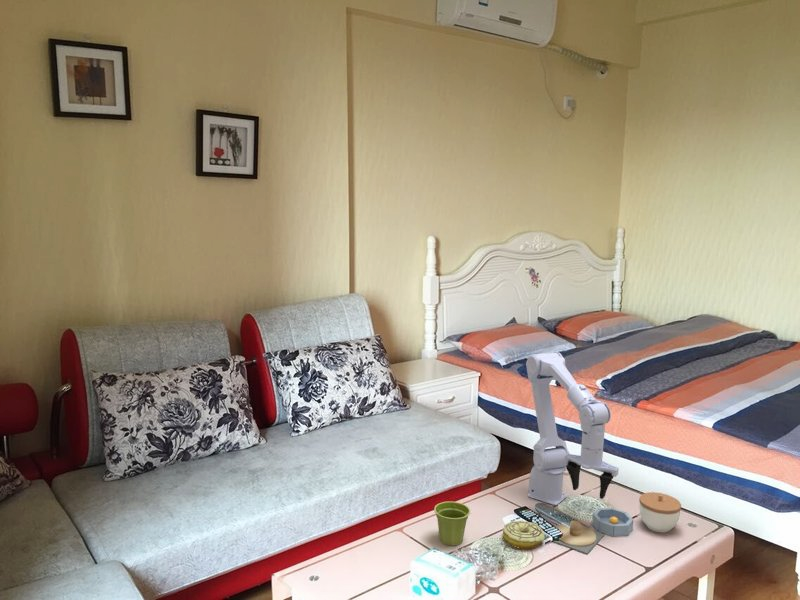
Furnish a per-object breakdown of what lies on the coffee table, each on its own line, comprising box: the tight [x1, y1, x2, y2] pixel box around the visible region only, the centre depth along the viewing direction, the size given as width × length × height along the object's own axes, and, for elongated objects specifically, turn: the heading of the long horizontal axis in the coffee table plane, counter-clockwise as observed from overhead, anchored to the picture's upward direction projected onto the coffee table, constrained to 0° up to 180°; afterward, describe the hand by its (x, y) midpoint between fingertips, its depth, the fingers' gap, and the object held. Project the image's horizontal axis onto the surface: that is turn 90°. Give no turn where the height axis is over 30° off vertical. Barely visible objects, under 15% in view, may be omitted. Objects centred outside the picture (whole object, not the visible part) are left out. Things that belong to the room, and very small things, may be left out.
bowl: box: [591, 507, 634, 537], centre depth 180 cm, size 10×10×3 cm
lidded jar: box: [638, 491, 682, 534], centre depth 180 cm, size 11×11×9 cm
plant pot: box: [433, 501, 471, 546], centre depth 172 cm, size 9×9×9 cm
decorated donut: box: [502, 520, 546, 550], centre depth 173 cm, size 10×11×4 cm
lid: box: [555, 520, 596, 547], centre depth 175 cm, size 11×11×4 cm
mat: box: [553, 524, 605, 555], centre depth 175 cm, size 12×12×1 cm
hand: (588, 493), depth 179 cm, fingers open, 7 cm apart
